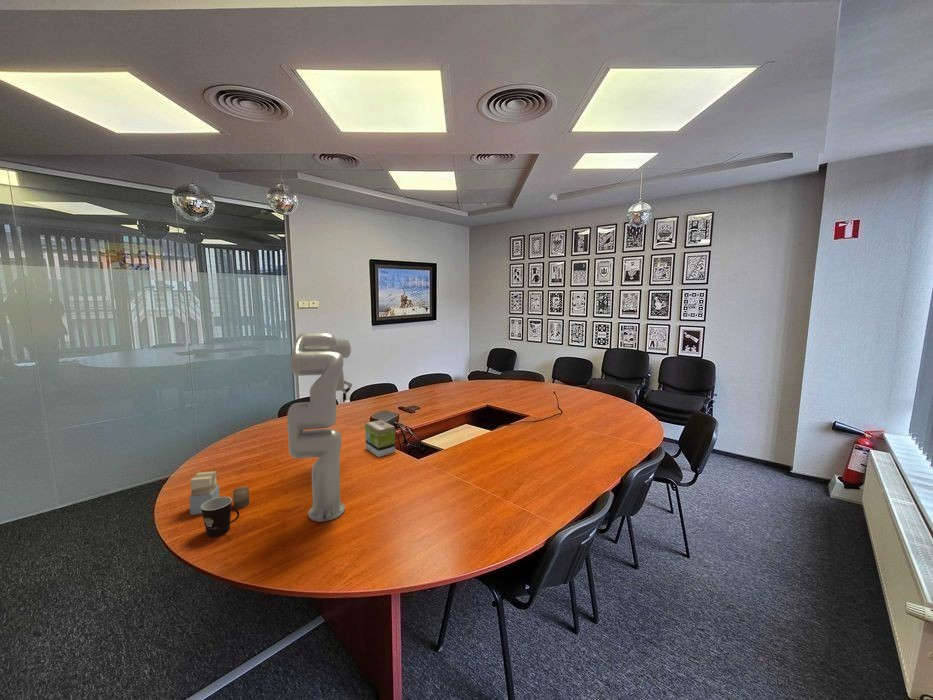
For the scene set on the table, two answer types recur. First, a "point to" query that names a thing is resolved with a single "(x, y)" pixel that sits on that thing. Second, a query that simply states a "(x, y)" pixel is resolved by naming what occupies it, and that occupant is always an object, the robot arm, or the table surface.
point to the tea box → (380, 437)
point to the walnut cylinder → (241, 497)
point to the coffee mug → (217, 515)
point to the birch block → (203, 483)
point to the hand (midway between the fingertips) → (333, 402)
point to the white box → (201, 501)
